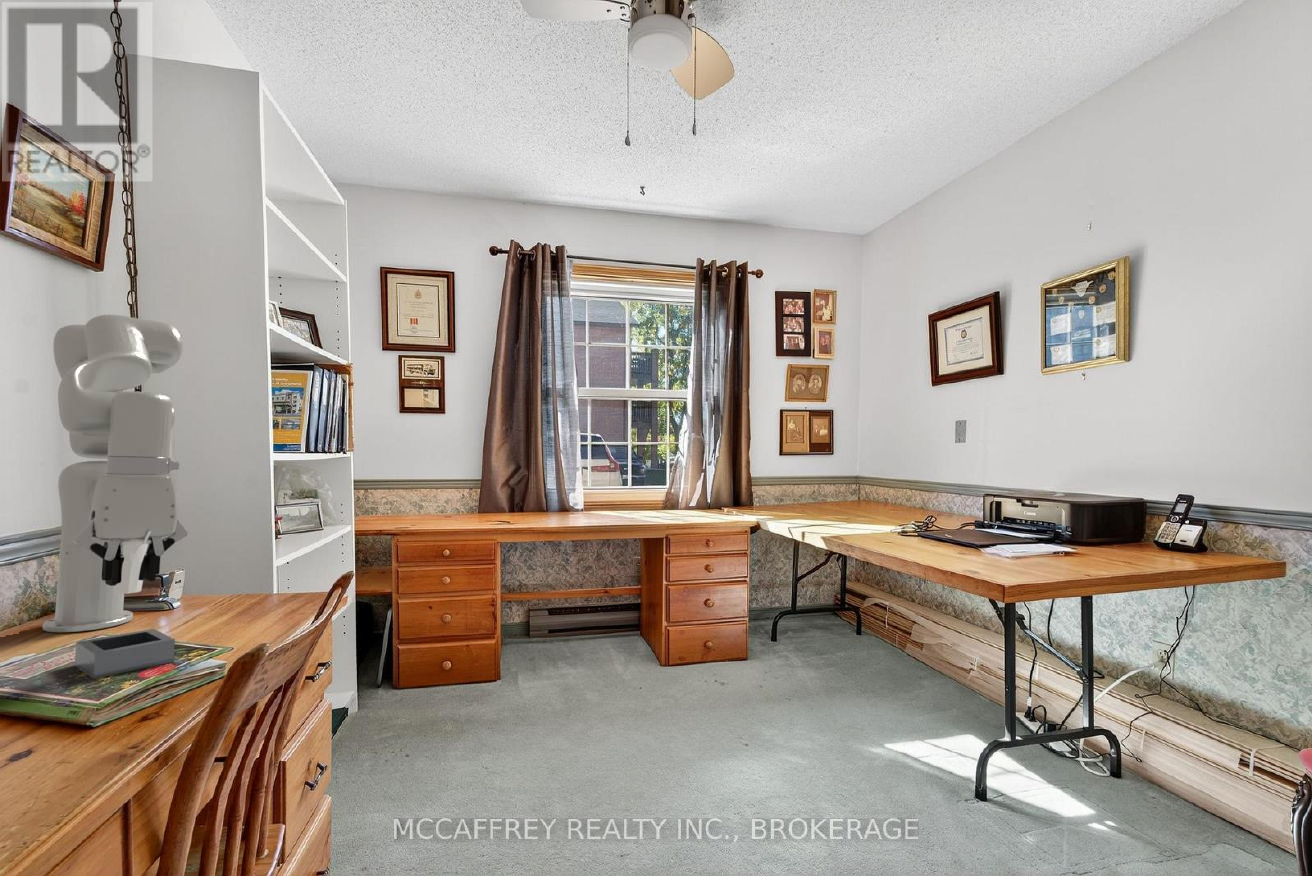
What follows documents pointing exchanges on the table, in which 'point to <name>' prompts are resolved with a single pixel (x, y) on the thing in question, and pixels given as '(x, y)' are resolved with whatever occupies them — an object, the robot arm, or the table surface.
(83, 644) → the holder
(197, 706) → the table surface
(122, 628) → the table surface
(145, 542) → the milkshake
